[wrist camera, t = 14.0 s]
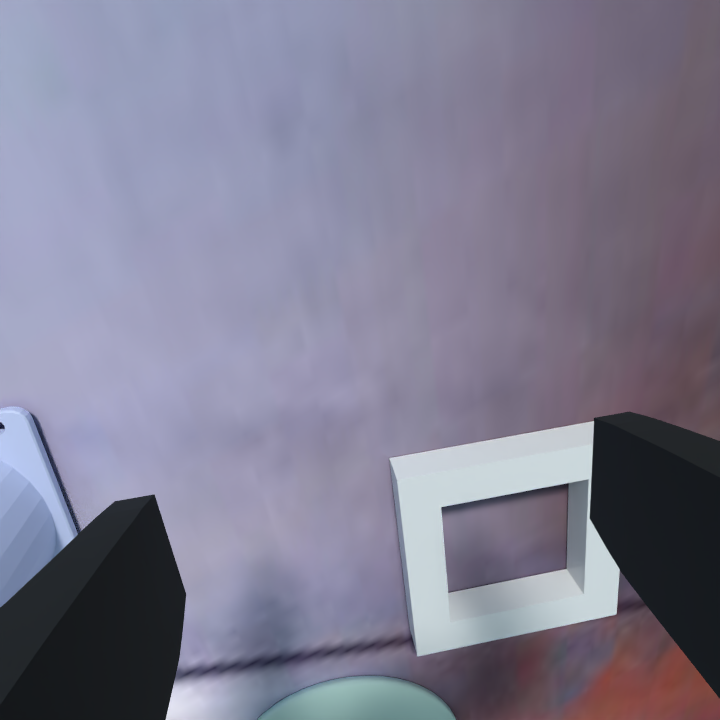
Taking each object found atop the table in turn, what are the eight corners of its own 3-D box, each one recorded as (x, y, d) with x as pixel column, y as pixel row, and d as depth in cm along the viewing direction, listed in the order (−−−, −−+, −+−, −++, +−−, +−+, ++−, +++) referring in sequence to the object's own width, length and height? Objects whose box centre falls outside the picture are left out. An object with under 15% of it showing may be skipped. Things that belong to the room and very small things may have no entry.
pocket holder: (409, 627, 24) (417, 656, 23) (389, 458, 21) (396, 480, 19) (597, 588, 25) (616, 614, 23) (606, 418, 22) (628, 437, 20)
